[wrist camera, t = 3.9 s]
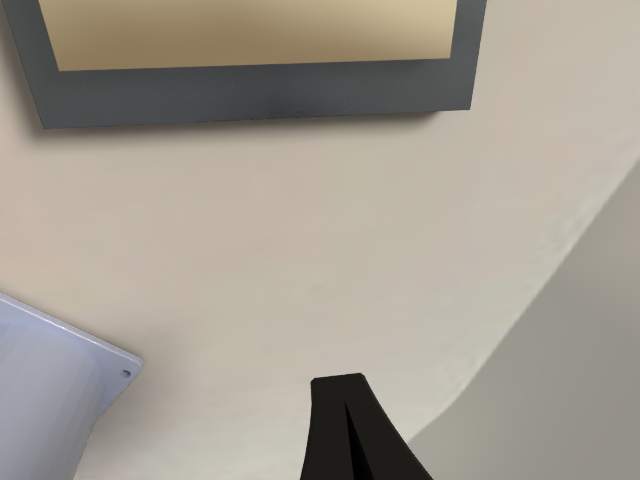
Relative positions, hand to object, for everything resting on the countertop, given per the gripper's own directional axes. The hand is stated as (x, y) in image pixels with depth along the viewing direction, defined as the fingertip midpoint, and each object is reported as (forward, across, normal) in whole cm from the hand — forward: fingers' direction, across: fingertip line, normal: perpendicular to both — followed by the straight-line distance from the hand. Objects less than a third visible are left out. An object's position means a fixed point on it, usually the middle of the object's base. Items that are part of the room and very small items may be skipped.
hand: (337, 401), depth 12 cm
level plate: (+8, +1, -14) cm, 16 cm away
